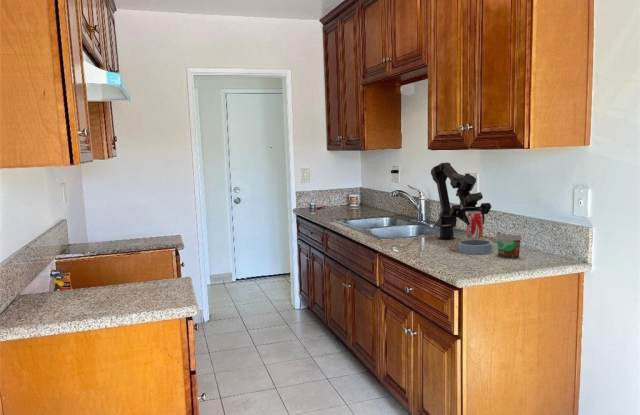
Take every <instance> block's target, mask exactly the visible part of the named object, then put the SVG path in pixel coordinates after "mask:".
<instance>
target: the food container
mask: <svg viewBox="0 0 640 415" xmlns="http://www.w3.org/2000/svg"><path fill="white" fill-rule="evenodd" d="M494 238H495V239H496V243H497V244H496V245H497V254H498V257H500V258H505V259H516V258H517V259H518V258H520V248H521V240H522V239H523V238H522V236H521V234H516V235H513V234H510V233H509V234H508V233H507V234H504V233H501V231H497V232H496V234H495V237H494Z"/></svg>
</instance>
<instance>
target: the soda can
mask: <svg viewBox="0 0 640 415" xmlns="http://www.w3.org/2000/svg"><path fill="white" fill-rule="evenodd" d="M466 216H467V218H468V221H469V225H467V224H466V236H467V237H468V238H469V239H470V240H472V239H476V240H480V239H481V238H482V237H483V236H484V226H483V225H484V224H483V216H482V214H481V212H480V211H470V212H467V214H466Z"/></svg>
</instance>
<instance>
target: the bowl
mask: <svg viewBox="0 0 640 415" xmlns="http://www.w3.org/2000/svg"><path fill="white" fill-rule="evenodd" d="M457 244H458V246H457V248H458V252H459V253H461V254H464V255H465V254H467V255H474V256H475V255H476V256H477V255H487V254H488V255H489V254H491V253H492V252H493V242H492V241H490V240H486V239H463V240H458V243H457Z"/></svg>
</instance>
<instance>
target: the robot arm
mask: <svg viewBox="0 0 640 415" xmlns="http://www.w3.org/2000/svg"><path fill="white" fill-rule="evenodd" d="M430 175H431V177H432V180H433V181H434V182H435V184H436V189H437V193H438V199H439V203H440V212H439V214H438V216H439V217H438V220H437V221H436V227H437V228H439V237H437V239H441V240H445V241H446V240H447V241H449V240H454V239H455V238H456V237H455V236H454V228H456V227H457V226H456V225H457V219H459V220H461V221H462V222H464V223H465V225H466V226H467V225H469V221H468V218H467V214H466V213H468V212H470V211H480V212H481V214H482V216H483V225H485V215H487V214H489V212H490V211H491V209H492V207H493V206H492V205H491V203H490V202H482V203H481V204H480V205H479V206H477V205H478V202H480V201H481V200H482V199H483V198H484V197H483V196H484V195H483V194H482V192H476V193H471V192H472V190H473V189H474V186H475V185H476V183H477V178H476V177H475V176H474V175H471V174H470V172H469V173H465V174H462V173H459V172H457V170H456V169H455V168H454V167H453V166H452V164H451V163H450V162H440V163H439V164H437V165H435V166H433V167H432V168H431V170H430ZM447 179H449V180H450V182H449V185H450V186H451V187H452V189H457V190H456V193H455V196H456V197H458V199H459V204H453V205H452V206H451V204H450V203H451V202H450V198H449V191H448V186H447Z"/></svg>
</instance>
